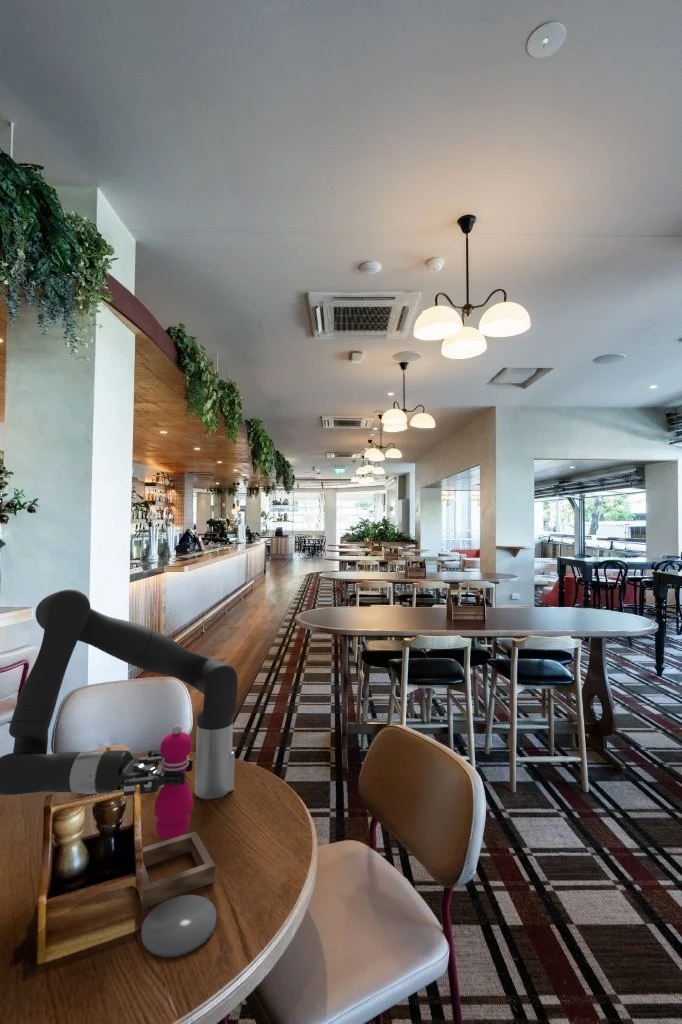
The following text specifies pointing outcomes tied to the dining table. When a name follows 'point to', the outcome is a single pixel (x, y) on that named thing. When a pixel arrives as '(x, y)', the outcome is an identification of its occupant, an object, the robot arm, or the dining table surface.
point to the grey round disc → (178, 925)
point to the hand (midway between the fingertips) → (188, 771)
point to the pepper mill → (174, 787)
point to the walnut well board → (180, 881)
